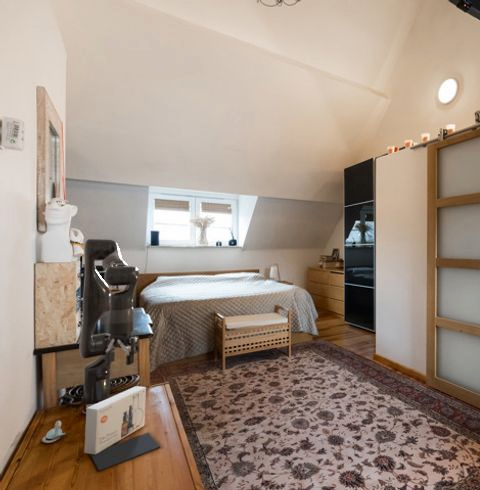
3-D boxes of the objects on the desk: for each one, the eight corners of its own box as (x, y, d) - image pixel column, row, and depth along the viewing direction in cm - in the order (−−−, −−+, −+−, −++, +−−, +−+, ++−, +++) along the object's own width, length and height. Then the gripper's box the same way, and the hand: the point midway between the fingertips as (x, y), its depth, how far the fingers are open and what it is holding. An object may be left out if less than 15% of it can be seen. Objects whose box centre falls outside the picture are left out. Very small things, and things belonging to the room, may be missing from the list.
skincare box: (96, 455, 121) (96, 409, 121) (83, 453, 122) (83, 408, 122) (146, 425, 142) (146, 386, 142) (135, 424, 143) (135, 385, 143)
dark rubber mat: (89, 454, 122) (89, 453, 122) (147, 433, 136) (147, 432, 136) (99, 471, 114) (99, 470, 114) (160, 447, 127) (160, 446, 127)
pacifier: (46, 446, 126) (67, 438, 131) (45, 429, 126) (66, 422, 131) (39, 439, 130) (60, 432, 135) (39, 423, 130) (59, 416, 135)
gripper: (145, 319, 132) (144, 362, 132) (114, 316, 135) (113, 357, 135) (127, 324, 124) (126, 369, 125) (95, 320, 127) (94, 364, 128)
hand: (120, 363), depth 130 cm, fingers open, 8 cm apart
